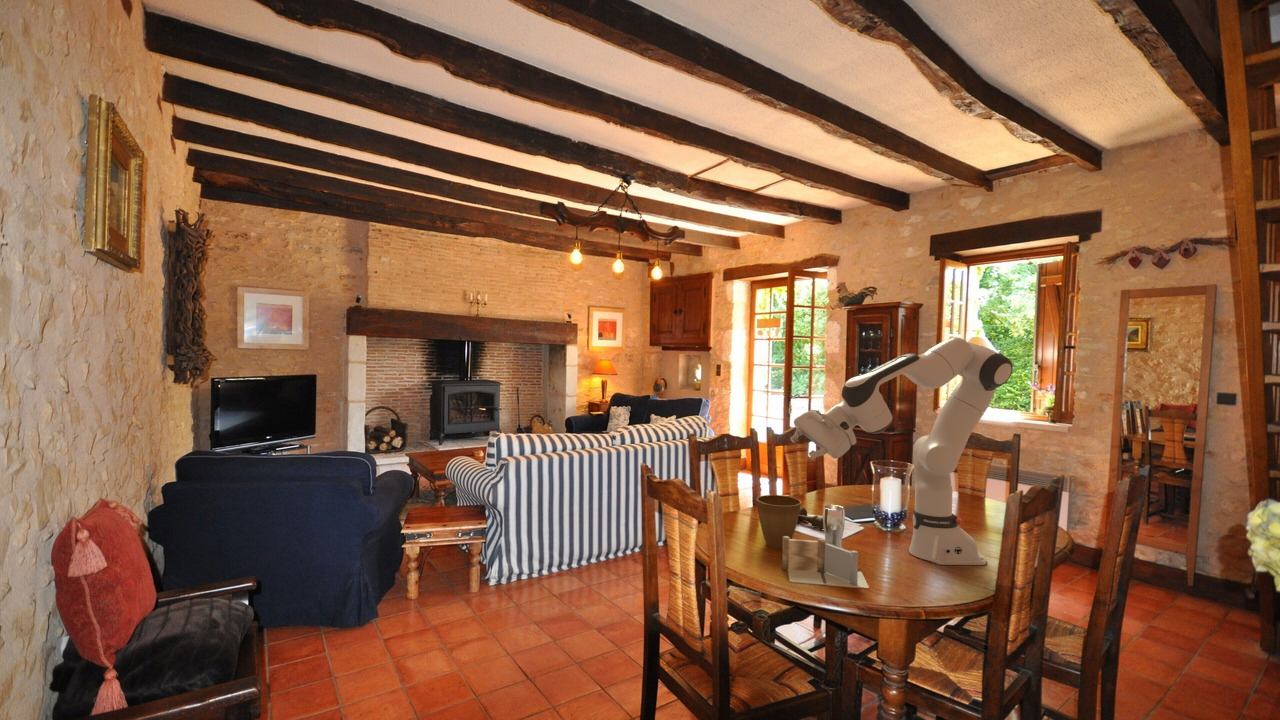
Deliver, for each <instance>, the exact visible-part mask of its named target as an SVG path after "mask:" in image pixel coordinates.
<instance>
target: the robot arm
mask: <svg viewBox="0 0 1280 720" xmlns="http://www.w3.org/2000/svg"><path fill="white" fill-rule="evenodd" d="M1013 370H1014V368H1013V362H1012V360H1011V359H1010V358H1009V357H1008V356H1006V355H1004V354H1002V353H999V352H996V351H994V350H993V349H991V348H989V347H985V346H983V345H979V344H976V343H973V342H969V341H967V340H966V339H964V338H961V337H956V336H954V337H953V336H952V337H949V338H948V339H944V340H943V341H940V342H939V343H938V344H936V345H934V346H932V347H931V348H929V349H928V350H927V351H925V352H923V353H921V354H919V355H917V354H916V353H906V354H902V355H900V356H897V357H895V358H893V359H891V360H889V361H887V362H885V363H883V364H881V365H879V366H877V367H875V368H873V369H871V370H869V371H867V372H865V373H861V374H859V375H856V376H853V377H850V378H849V379H848V380H847V381H845V383H844V385H843V387H842V390H841V394H840V395H841V397H842V400H841V401H840V403H838V404H836V405H833V406H832V407H831V408H829V409H828V410H826V411H825V412H824V413H823V412H821V411H820V410H819V409H810V410H808V411H806V412H804V413H802V414H801V415H798V416H796V418H795V419H794V420H793V424H794V426H795V431H794V434H793V435H792V436H790V438H789V439H790V441H791V442H792V443H793V444H796V443H797V442H799V439H798V438H799V436H801V437H802V436H803V435H804V437H806V438H808V439H809V440H810V441H811V442H813V443H814V444H815V445H816V446H817V447H819V449H817V450H814V449H812V450H811V451H809V453H808V455H809V457H810V458H811V459H813V460H814V459H815V458H817V457H823V456H825V455H826V454H827V455H829V456H830V457H831V458H833V459H839V458H841V457H842V456H844V455H845V454H846V453H847V452H848V451H849V450H850V449H851V447H852V446H854V445H856V444H857V443H858V442H857V438H856V435H855V433H854V430H853V429H854V427H856V426H859V427H860V429H861V430H863V431H864V432H866V433H867V434H868V433H869V434H875V435H876V434H881V433H883V432H884V431H886V430H887V429H888V428H889V427H890V426H891V424H892V422H893V419H894V418H893V415H892V413H891V410H890V409H889V407H888V405H887V403H886V402H885V400H884V398H883V395H882V393H881V392H880V386H881V385H882V384H884V383H886V382H888V381H890V380H892V379H894V378H896V377H898V376H900V375H903V376H905V377H906V378H907V379H909V380H910V381H911V382H912V383H914V384H915V385H916V386H919V387H921V388H924V389H928V390H929V389H930V390H936V389H938V388H941V387H943V386H945V385H946V384H948V383H949V382H950V381H952V380H953V379H954V378H956V377H957V376H960V377H961V378H962V380H960V382H959V383H958V384H957V385H956V387H955V388H954V389H953V391H952V393H951V394H950V396H949V397H948V398H947V400H946V401H945V403H944V405H943V406H942V407H941V409H940V410H939V412H938V414H937V416H936V418H935V422H934V424H933V426H932V429H931V431H930V433H929V434H925V435H923V436H920V437H919V438H918V439H917V440H915V442H914V444H913V448H912V449H913V451H912V452H913V453H912V455H913V457H912V458H913V470H914V471H913V473H914V474H913V475H914V485H915V486H914V487H915V488H914V489H915V490H914V491H915V492H914V494H915V495H914V509H913V512H912V513H913V514H912V526H913V529H912V532H913V533H912V537H911V542H910V545H909V549H908V552H909V553H910V554H911V555H912V556H914V557H916V558H919V559H921V560H925V561H929V562H931V563H934V564H936V565H940V566H941V565H942V566H945V565H947V566H949V565H953V566H958V565H959V566H985V565H986V564H987V558H986V557H985V556H984V555H983V554H982V553H981V552H979V548H978V544H977V542H976V540H975V539H974V537H972V536H971V535H970V534H969V533H967V532H966V531H965V530H964V529H963V528H961V527H960V526H963V524H964V520H963V518H961V517H958V516H957V515H956V514H954V513H953V486H952V481H951V474H952V473H953V472H954V471H955V470H956V469H957V467H958V466H959V465H958V464H959V460H960V458H961V456H962V454H963V453H964V450H965V448H966V446H967V443H968V440H969V439H970V436H971V434H972V433H973V431H974V429H975V428H976V426H977V424H979V421H980V420H981V419H982V418H983V415H984V413H986V411H987V409H988V408H989V406H990V404H991V402H992V399H993V397H994V395H995V392H996V390H997V388H1000V387H1002V386H1003V385H1005V384H1006V383H1007V382H1008V381H1009V379H1010V378H1011V376H1012V374H1013Z"/></svg>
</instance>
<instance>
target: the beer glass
mask: <svg viewBox="0 0 1280 720" xmlns="http://www.w3.org/2000/svg"><path fill="white" fill-rule="evenodd" d="M845 514H846V513H845V507H844V506H841V505H836V504H825V505H824V506H823V513H822V518H823V527H824V530H823V534H824V539H826V544H827V543H828V544H831V545H834V546H836V547H839V548H842V549H843V542H842V541H843V536H844V531H845V526H846V525H845V524H846V523H845V522H846V515H845Z"/></svg>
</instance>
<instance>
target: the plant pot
mask: <svg viewBox="0 0 1280 720" xmlns="http://www.w3.org/2000/svg"><path fill="white" fill-rule="evenodd" d="M756 505H757V513H758V519H759V523H760V527H761V531H762V535H763V538H764V541H765V544H766V546H767V547H768V548H771V549H773V550H783V536H788V537H789V539H793V538H794V535H795V531H796V527H797V525H798V517H799V512H800V506H801V507H802V501H801V500H800V499H798V498H796V497H794V496H793V497H792V496H786V495H782V494H781V495H779V494H765V495H761V496H758V497H756Z"/></svg>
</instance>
